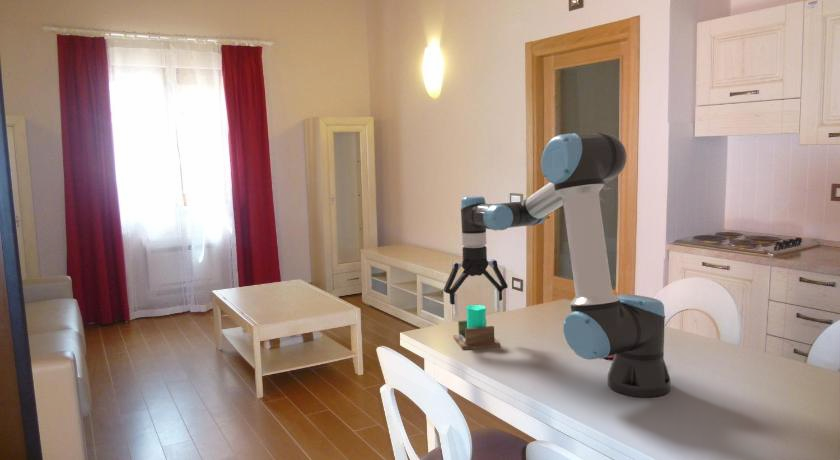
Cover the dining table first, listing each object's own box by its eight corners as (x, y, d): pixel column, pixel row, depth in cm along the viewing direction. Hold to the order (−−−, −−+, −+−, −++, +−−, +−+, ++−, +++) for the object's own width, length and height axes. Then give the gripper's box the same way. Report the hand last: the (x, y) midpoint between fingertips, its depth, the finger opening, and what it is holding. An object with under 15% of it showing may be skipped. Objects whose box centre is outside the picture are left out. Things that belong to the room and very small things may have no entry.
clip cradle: (500, 346, 192) (499, 327, 192) (462, 349, 190) (462, 330, 190) (489, 335, 204) (488, 317, 203) (453, 338, 202) (453, 320, 201)
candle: (464, 340, 196) (463, 303, 194) (471, 335, 201) (471, 299, 200) (481, 342, 193) (481, 305, 192) (489, 337, 198) (488, 301, 197)
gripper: (508, 242, 199) (510, 306, 201) (432, 246, 195) (435, 313, 197) (516, 244, 192) (518, 312, 194) (437, 250, 187) (440, 318, 190)
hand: (476, 312), depth 196 cm, fingers open, 13 cm apart
